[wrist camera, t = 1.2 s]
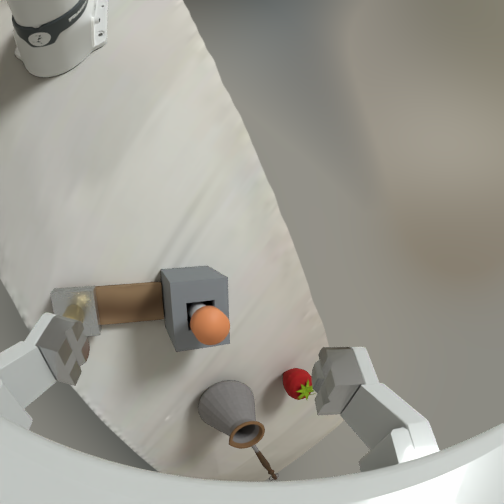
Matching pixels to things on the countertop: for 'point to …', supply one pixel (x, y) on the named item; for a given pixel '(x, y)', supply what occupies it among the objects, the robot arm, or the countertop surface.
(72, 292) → the carriage
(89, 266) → the countertop surface
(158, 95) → the countertop surface
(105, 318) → the rail
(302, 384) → the strawberry
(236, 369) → the countertop surface
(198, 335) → the button
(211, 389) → the coffee pot
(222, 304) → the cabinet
